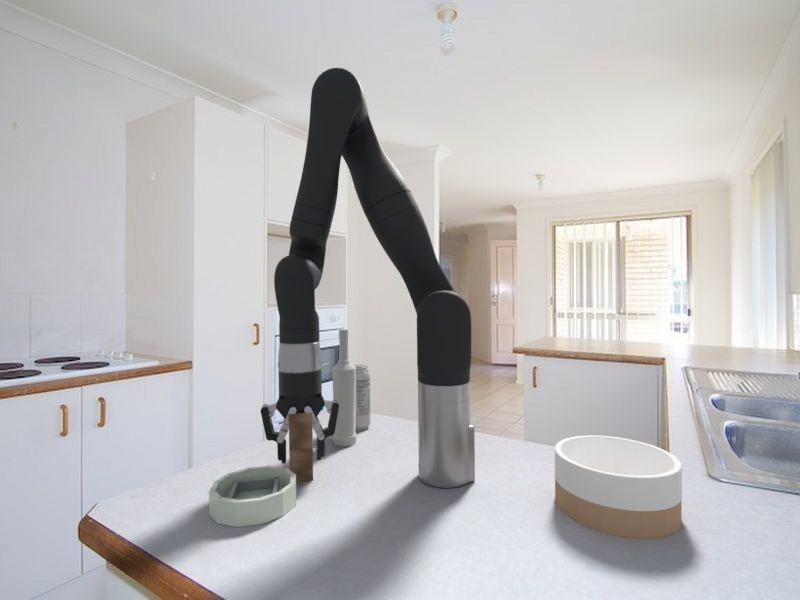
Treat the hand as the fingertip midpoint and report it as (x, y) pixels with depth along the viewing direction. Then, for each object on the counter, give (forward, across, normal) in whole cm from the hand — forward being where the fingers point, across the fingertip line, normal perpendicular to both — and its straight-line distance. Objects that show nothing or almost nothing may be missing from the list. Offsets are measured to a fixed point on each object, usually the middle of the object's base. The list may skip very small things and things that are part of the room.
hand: (301, 460), depth 78 cm
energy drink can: (+3, -13, -26) cm, 29 cm away
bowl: (+3, -47, +22) cm, 52 cm away
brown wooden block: (+3, 0, 0) cm, 3 cm away
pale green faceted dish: (+3, +7, +9) cm, 12 cm away
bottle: (+3, -9, -16) cm, 19 cm away
